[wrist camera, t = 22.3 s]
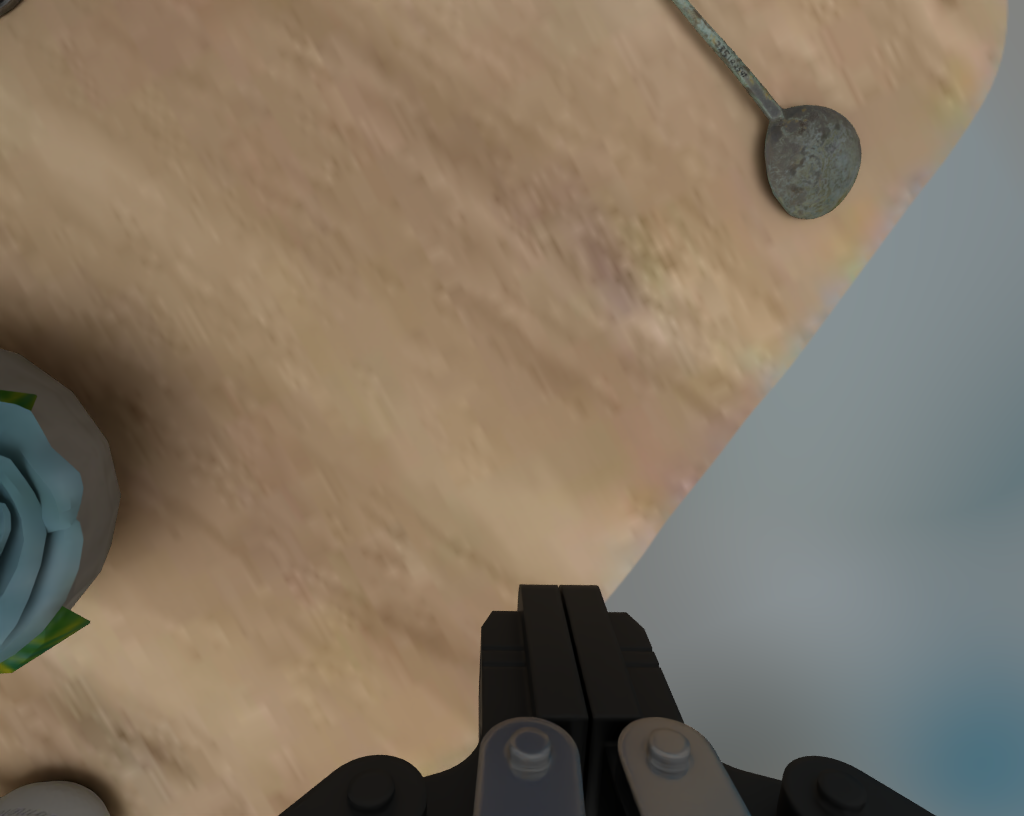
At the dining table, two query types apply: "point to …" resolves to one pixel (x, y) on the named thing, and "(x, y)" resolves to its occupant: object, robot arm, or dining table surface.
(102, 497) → the flower arrangement
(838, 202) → the soupspoon
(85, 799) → the teacup
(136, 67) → the dining table surface
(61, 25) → the dining table surface
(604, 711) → the robot arm
